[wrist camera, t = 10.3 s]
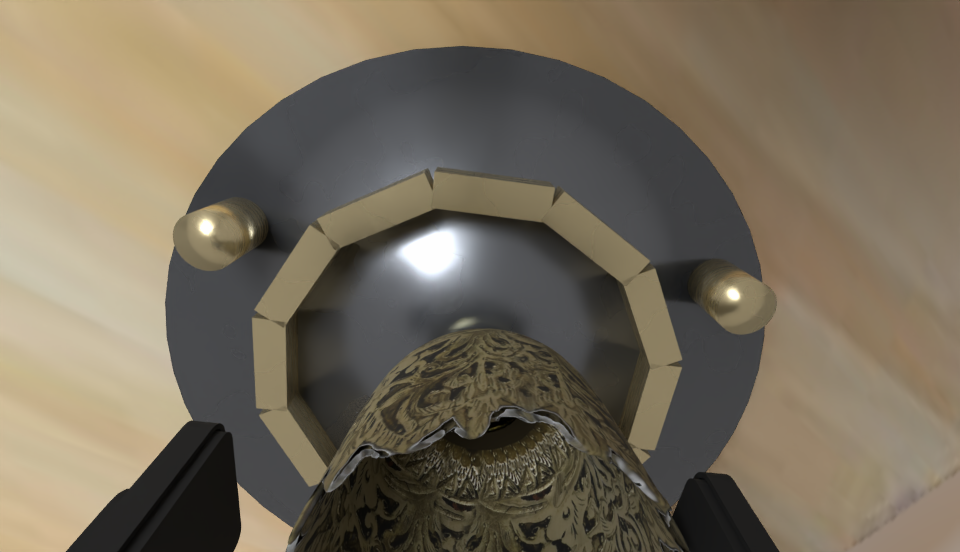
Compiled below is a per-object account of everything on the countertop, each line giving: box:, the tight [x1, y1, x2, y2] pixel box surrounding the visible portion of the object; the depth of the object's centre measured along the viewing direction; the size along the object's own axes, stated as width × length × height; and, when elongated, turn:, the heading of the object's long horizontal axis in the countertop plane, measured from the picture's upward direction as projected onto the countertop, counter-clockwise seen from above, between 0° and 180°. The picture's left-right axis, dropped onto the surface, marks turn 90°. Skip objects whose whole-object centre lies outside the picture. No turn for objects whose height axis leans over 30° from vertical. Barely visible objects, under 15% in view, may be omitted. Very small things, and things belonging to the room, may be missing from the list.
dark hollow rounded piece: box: [286, 328, 690, 552], centre depth 12 cm, size 8×7×8 cm
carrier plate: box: [165, 46, 777, 528], centre depth 15 cm, size 20×20×3 cm
